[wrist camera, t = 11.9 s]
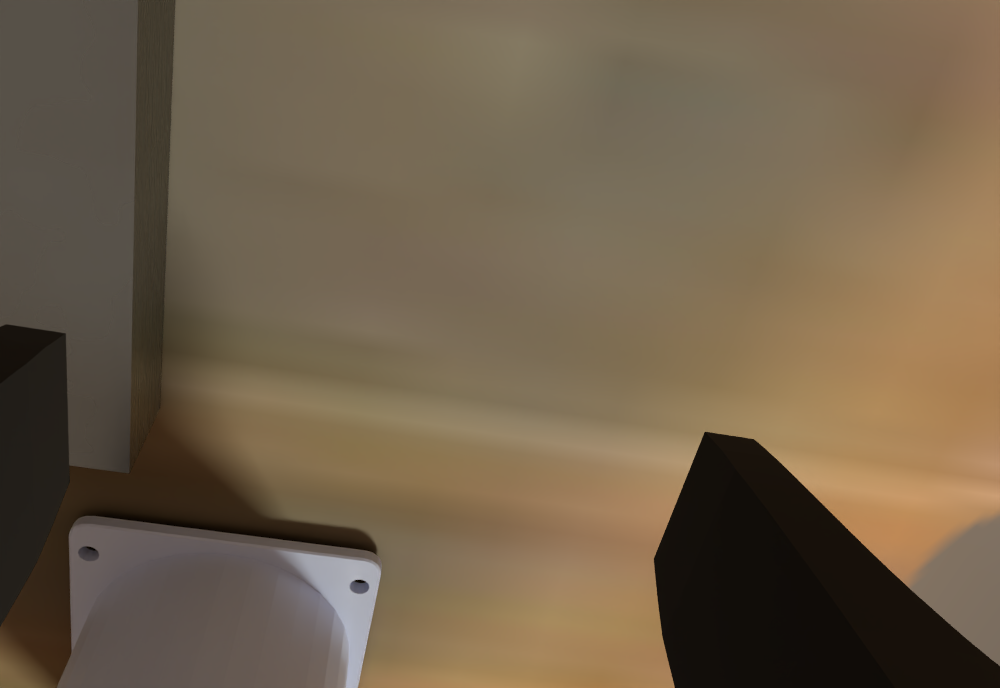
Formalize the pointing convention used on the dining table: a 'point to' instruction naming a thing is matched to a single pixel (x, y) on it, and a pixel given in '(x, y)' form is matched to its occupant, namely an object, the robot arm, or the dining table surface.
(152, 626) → the robot arm
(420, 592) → the dining table surface
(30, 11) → the housing
